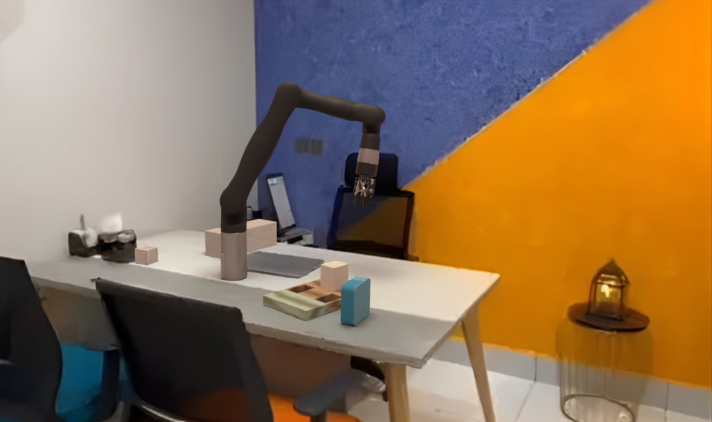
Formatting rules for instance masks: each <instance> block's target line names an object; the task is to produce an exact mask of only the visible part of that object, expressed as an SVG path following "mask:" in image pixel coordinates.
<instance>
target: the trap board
mask: <svg viewBox="0 0 712 422" xmlns="http://www.w3.org/2000/svg"><path fill="white" fill-rule="evenodd" d="M320 286H321V278H319V279H316V280H312V281H308V282H305V283H302V284H299V285H298V284H297V285H295V286H292V287H287V288H284V289H280V290H277V291H273V292H270V293H266V294H263V295H262V297H263V298H262V302H263V303H262V304H263V305H264V306H267V307H269V308H272V309H274V310H278V311H280V312H283V313H284V314H285V313H286V314H287V315H290V316H293V317H295V318H297V319H300V320H303V321H309V320H312V319H315V318H318V317H321V316H324V315H327V314H330V313H333V312H334V311H338V310H341V290H337V291H334V292H332V291H329V290H326V289H323V288H320Z"/></svg>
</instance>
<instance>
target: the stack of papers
mask: <svg viewBox="0 0 712 422" xmlns="http://www.w3.org/2000/svg"><path fill="white" fill-rule="evenodd" d="M277 223H278V222H277V221H273V220H269V219H268V220H267V219H261V218H258V219H253V220H247V254H248V253H252V252H256V251H259V250H263V249H267V248H270V247H274V246H277V244H278V242H277V239H278V238H277V235H278V234H277V232H278V231H277V230H278V229H277V228H278V227H277ZM204 244H205V245H204V246H205V247H204V249H205V250H204V251H205V252H204V253H205V256H207V257H211V258H215V259H220V260H221V226H220V227H215V228H212V229H211V228H210V229H205V230H204Z"/></svg>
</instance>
